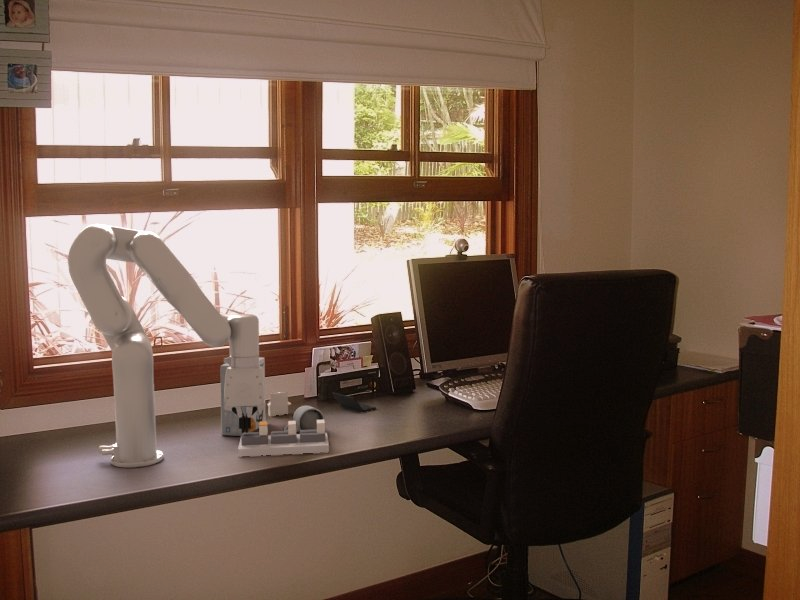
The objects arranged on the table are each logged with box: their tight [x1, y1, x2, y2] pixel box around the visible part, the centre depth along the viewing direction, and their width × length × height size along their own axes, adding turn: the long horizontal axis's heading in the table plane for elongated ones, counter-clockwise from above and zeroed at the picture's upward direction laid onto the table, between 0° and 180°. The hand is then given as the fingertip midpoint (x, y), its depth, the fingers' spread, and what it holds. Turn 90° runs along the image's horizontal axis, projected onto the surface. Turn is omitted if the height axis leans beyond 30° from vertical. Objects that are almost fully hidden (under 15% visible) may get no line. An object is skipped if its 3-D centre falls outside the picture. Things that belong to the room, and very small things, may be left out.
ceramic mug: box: [283, 405, 325, 434], centre depth 228 cm, size 11×8×8 cm
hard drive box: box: [219, 356, 267, 437], centre depth 232 cm, size 16×8×20 cm, turn 168°
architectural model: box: [266, 391, 292, 417], centre depth 250 cm, size 3×7×7 cm, turn 117°
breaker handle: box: [258, 420, 269, 436], centre depth 212 cm, size 2×4×3 cm, turn 8°
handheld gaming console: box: [332, 392, 377, 413], centre depth 256 cm, size 12×7×10 cm
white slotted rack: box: [237, 419, 330, 458], centre depth 213 cm, size 23×12×7 cm, turn 98°
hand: (245, 431), depth 212 cm, fingers closed
